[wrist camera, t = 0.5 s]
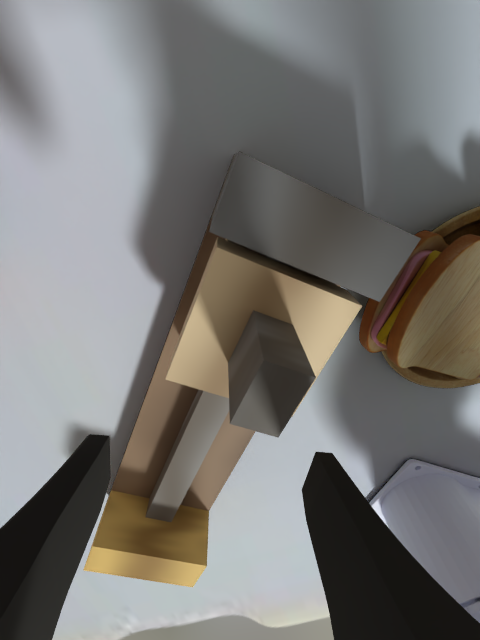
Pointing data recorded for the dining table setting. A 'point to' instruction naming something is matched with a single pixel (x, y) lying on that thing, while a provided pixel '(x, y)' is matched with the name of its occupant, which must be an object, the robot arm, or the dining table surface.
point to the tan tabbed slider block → (259, 335)
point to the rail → (213, 410)
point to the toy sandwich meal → (432, 309)
